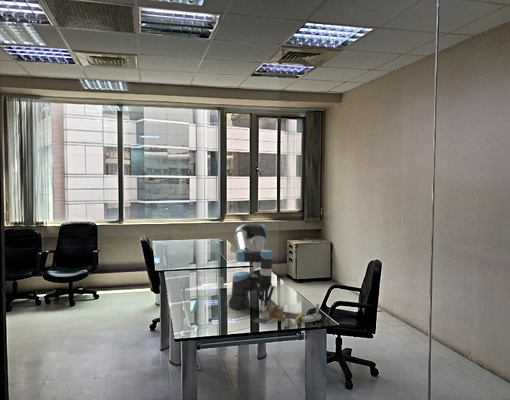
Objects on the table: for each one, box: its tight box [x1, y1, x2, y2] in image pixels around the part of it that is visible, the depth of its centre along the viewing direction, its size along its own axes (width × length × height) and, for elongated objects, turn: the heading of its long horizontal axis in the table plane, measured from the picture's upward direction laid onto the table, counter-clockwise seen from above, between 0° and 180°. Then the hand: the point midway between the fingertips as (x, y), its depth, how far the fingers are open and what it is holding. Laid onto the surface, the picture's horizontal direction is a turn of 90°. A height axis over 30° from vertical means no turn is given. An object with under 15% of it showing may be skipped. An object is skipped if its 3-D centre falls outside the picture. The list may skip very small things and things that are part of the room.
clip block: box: [268, 304, 284, 319], centre depth 255 cm, size 8×5×7 cm, turn 67°
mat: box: [252, 317, 270, 325], centre depth 248 cm, size 8×8×1 cm
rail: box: [283, 310, 303, 325], centre depth 255 cm, size 22×11×4 cm, turn 67°
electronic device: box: [300, 303, 322, 324], centre depth 256 cm, size 5×10×15 cm
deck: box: [262, 311, 287, 322], centre depth 255 cm, size 21×11×1 cm, turn 67°
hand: (263, 310), depth 259 cm, fingers closed
